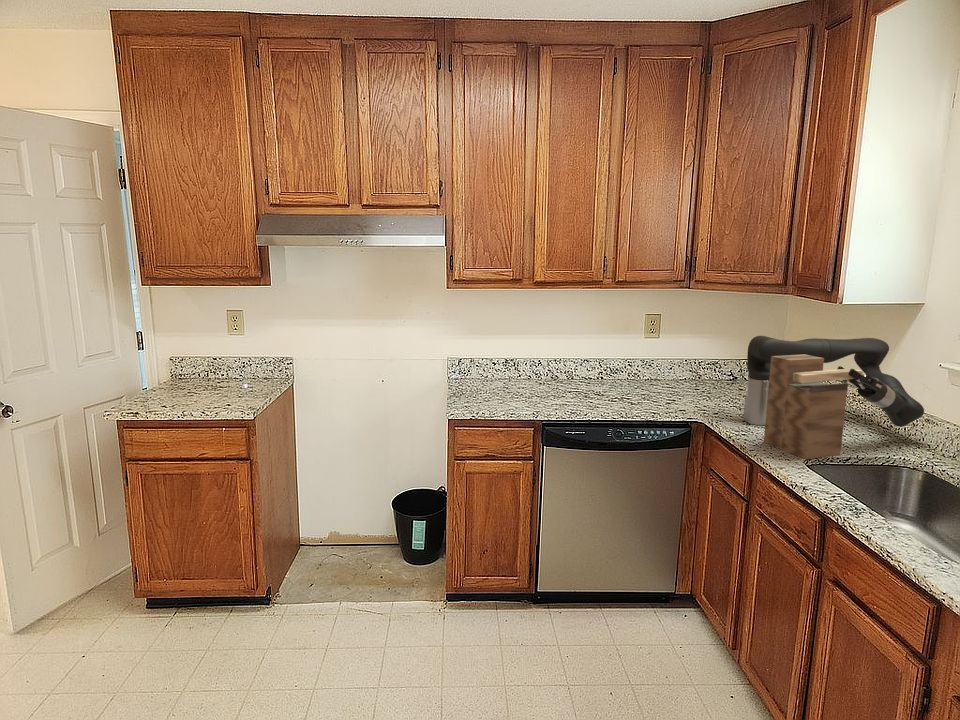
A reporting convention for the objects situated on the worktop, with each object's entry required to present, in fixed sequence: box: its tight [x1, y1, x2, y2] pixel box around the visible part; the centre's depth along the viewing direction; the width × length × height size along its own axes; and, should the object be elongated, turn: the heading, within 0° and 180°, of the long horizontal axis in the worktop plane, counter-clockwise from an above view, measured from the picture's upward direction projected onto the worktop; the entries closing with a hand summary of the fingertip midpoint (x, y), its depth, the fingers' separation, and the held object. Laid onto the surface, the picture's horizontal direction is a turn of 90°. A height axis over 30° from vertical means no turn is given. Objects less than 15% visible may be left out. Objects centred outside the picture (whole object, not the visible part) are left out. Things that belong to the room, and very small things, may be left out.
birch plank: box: [793, 367, 864, 383], centre depth 198 cm, size 4×24×2 cm, turn 108°
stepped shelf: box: [763, 354, 849, 460], centre depth 203 cm, size 18×14×30 cm
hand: (844, 370), depth 200 cm, fingers closed on birch plank, 4 cm apart
